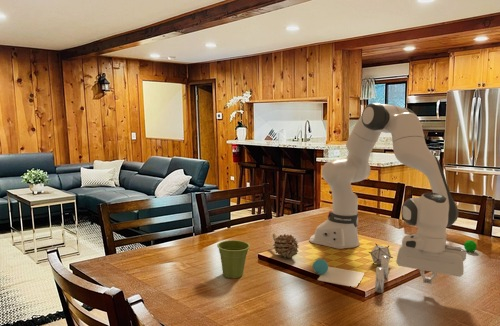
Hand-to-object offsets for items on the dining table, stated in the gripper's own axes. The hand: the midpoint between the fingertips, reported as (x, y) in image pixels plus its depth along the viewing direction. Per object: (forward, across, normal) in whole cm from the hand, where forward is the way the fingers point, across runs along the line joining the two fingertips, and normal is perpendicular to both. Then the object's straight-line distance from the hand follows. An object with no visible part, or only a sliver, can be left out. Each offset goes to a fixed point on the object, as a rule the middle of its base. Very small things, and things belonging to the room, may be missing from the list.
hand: (427, 282), depth 132 cm
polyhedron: (+4, -15, -54) cm, 56 cm away
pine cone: (+4, +56, -12) cm, 58 cm away
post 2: (+4, +14, -6) cm, 16 cm away
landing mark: (+4, +28, 0) cm, 29 cm away
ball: (+1, +36, +1) cm, 36 cm away
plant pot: (+4, +64, +17) cm, 67 cm away
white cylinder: (+4, -3, -39) cm, 39 cm away
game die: (+4, +18, -19) cm, 26 cm away
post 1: (+4, +14, +6) cm, 16 cm away
